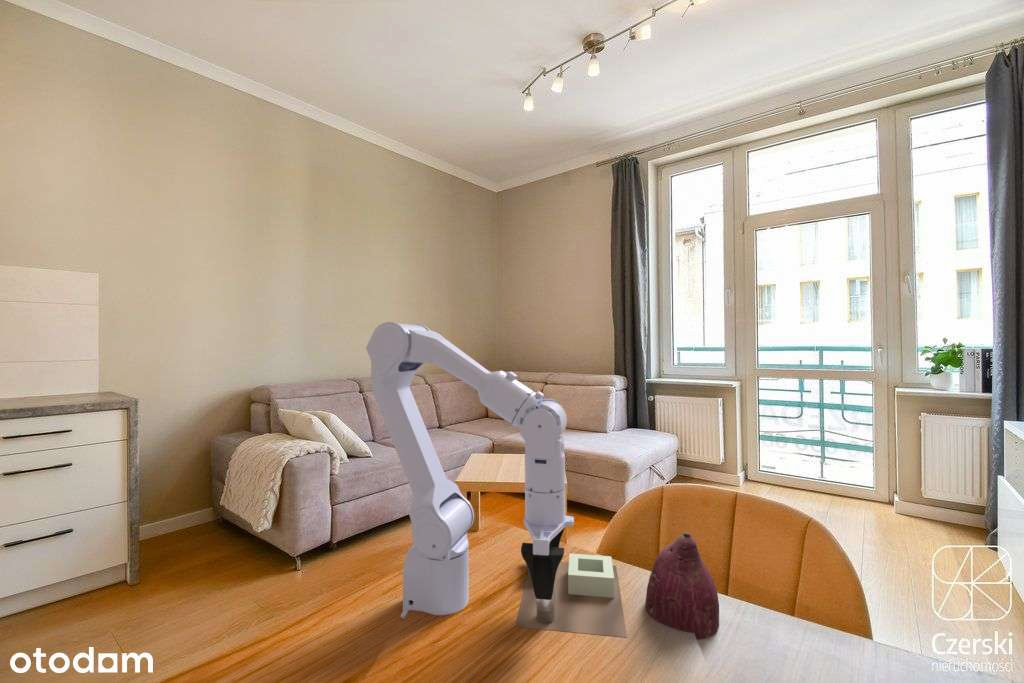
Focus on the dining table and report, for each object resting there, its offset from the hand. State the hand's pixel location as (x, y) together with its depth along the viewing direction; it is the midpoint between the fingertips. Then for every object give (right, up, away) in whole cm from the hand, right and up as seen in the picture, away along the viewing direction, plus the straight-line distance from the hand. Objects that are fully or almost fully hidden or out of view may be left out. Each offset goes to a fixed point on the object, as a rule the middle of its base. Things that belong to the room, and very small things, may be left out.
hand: (546, 582), depth 62 cm
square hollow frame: (+8, -6, +9) cm, 13 cm away
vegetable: (+20, -6, +2) cm, 21 cm away
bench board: (+4, -6, +6) cm, 10 cm away
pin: (0, -5, 0) cm, 5 cm away
